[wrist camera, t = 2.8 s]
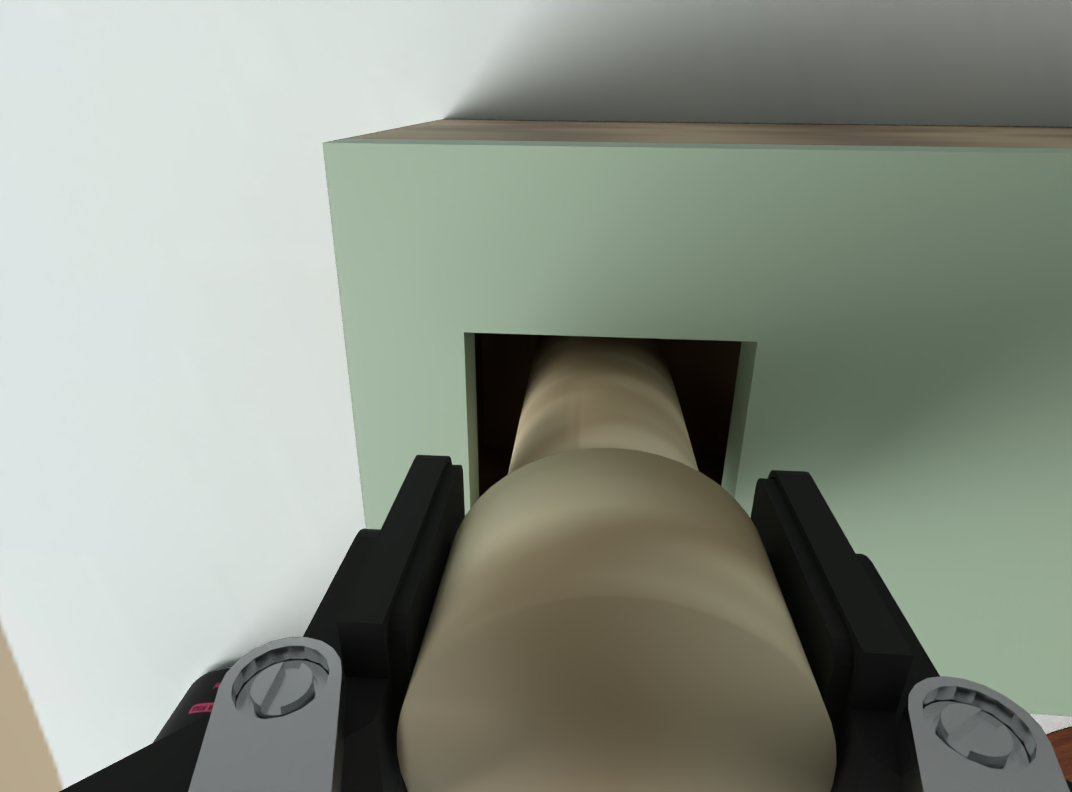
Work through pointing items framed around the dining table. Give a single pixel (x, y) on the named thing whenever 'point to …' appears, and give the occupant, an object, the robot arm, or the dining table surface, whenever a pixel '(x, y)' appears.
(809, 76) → the dining table surface
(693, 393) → the wooden box
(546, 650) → the pin
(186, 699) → the beverage can
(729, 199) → the green box lid
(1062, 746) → the music box
